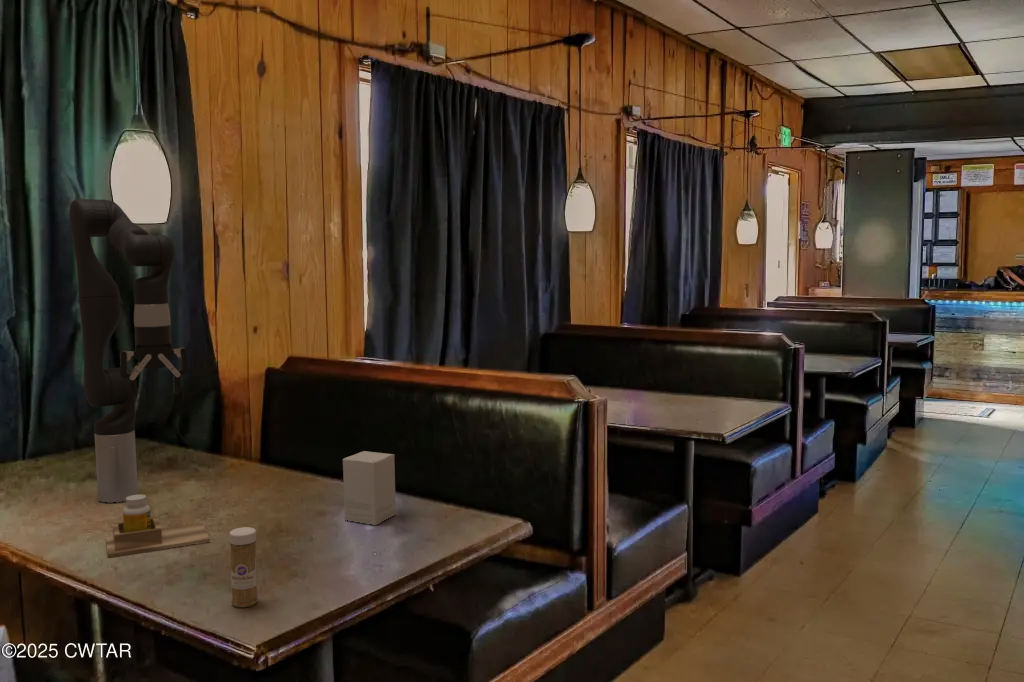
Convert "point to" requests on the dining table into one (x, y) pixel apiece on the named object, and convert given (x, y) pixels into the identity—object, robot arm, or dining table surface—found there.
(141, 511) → the supplement bottle
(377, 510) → the supplement box
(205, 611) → the dining table surface
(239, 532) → the sprinkles bottle
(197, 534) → the wooden stand
